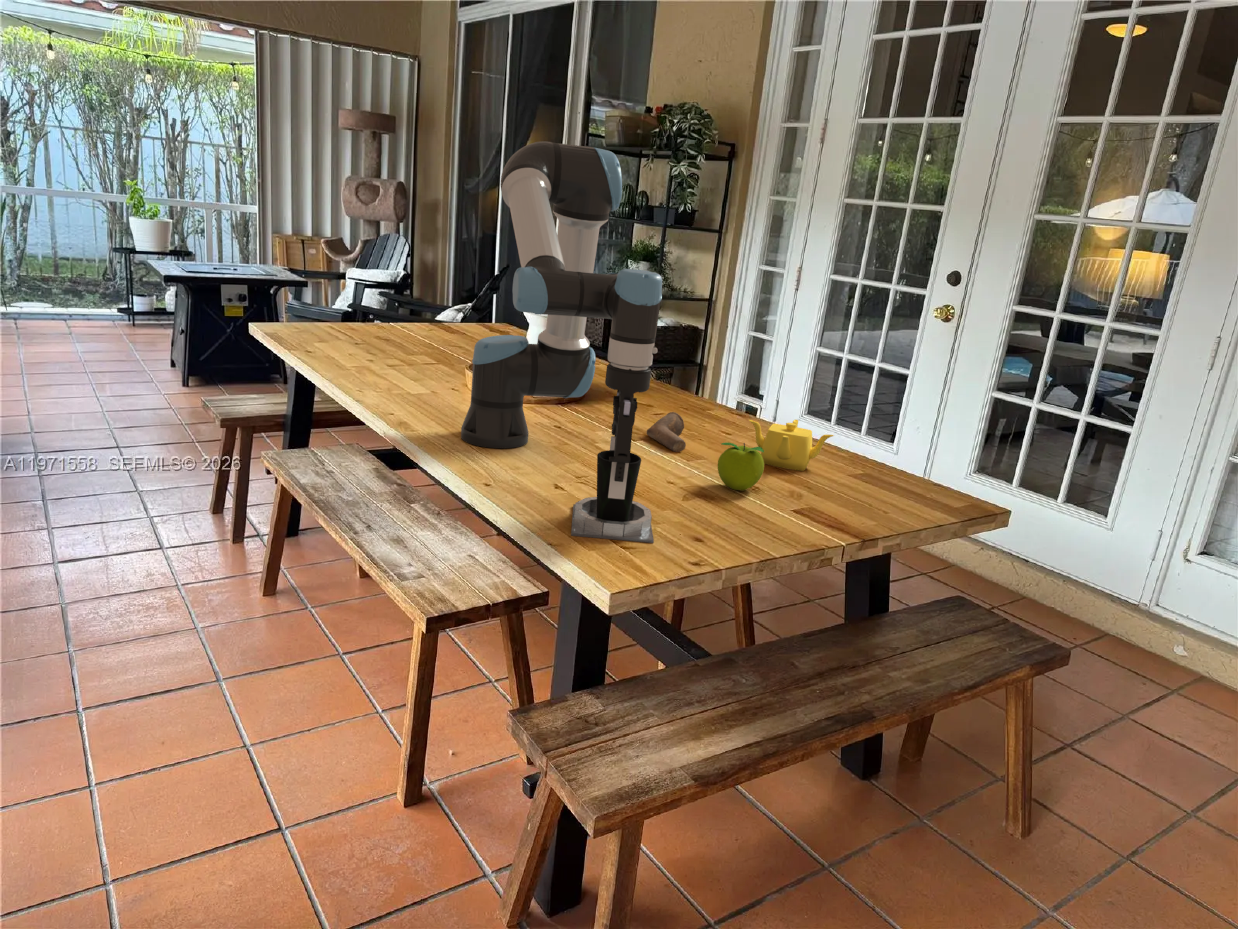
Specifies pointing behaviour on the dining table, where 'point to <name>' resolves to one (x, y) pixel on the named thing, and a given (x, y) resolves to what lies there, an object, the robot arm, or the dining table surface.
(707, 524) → the dining table surface
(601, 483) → the cup
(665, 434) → the pipe
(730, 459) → the fruit
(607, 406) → the dining table surface
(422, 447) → the dining table surface
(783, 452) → the teapot
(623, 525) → the duct collar
